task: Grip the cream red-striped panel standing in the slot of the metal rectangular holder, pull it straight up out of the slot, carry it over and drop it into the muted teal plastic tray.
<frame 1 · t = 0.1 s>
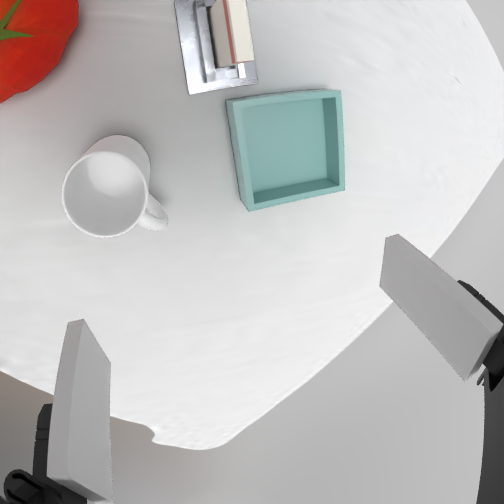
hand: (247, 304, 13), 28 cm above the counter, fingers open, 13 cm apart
cream red-striped panel: (216, 40, 29), point 1 cm above the counter, touching metal rectangular holder
tray: (283, 142, 38), on the counter
tomato: (26, 41, 23), on the counter
mug: (128, 176, 35), on the counter
metal rectangular holder: (215, 40, 30), on the counter
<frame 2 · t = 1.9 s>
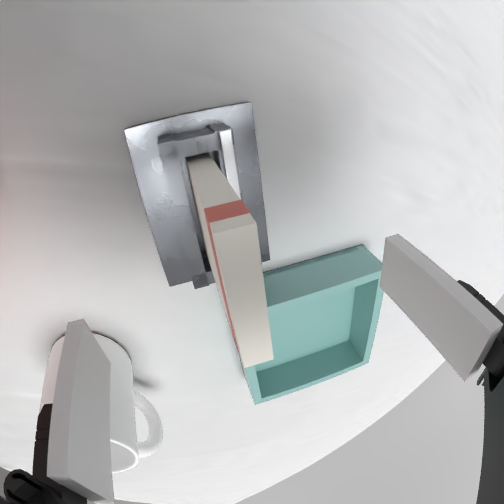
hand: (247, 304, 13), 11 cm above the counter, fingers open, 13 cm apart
cream red-striped panel: (204, 201, 21), point 1 cm above the counter, touching metal rectangular holder
tray: (299, 317, 30), on the counter
mug: (107, 365, 27), on the counter
metal rectangular holder: (203, 198, 21), on the counter
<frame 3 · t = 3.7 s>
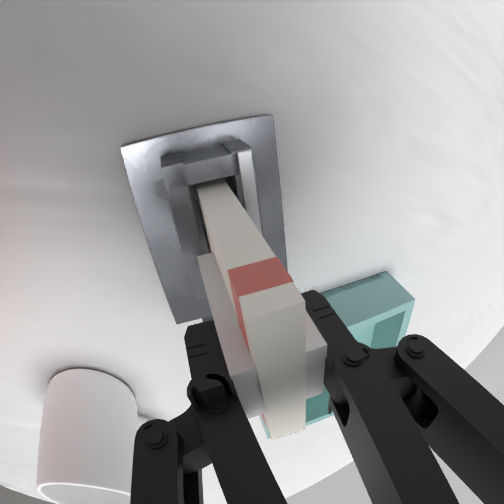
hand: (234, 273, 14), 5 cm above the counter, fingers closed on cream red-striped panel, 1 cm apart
cream red-striped panel: (217, 231, 18), point 1 cm above the counter, touching metal rectangular holder, gripper
tray: (316, 348, 27), on the counter
mug: (109, 400, 24), on the counter
metal rectangular holder: (215, 227, 19), on the counter
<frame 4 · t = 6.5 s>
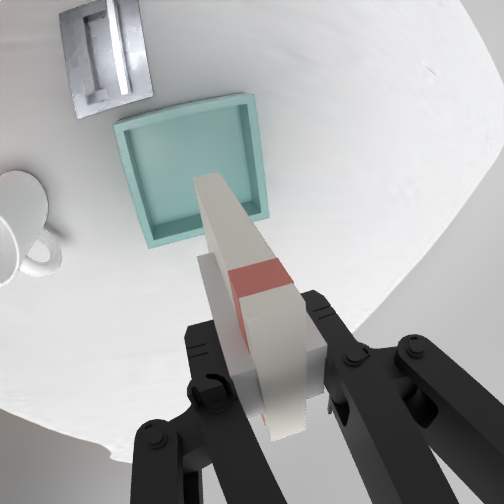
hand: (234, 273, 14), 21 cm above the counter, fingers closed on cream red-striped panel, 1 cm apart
cream red-striped panel: (217, 232, 18), point 17 cm above the counter, touching gripper
tray: (192, 163, 32), on the counter
mug: (31, 212, 29), on the counter
metal rectangular holder: (104, 52, 23), on the counter
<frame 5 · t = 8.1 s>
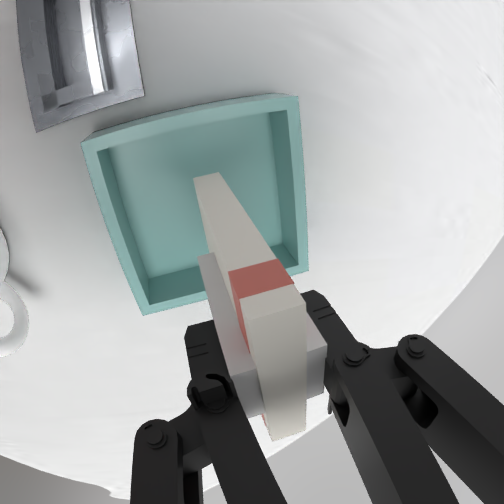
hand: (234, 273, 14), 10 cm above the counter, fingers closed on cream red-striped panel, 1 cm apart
cream red-striped panel: (217, 232, 18), point 6 cm above the counter, touching gripper
tray: (201, 193, 23), on the counter
metal rectangular holder: (74, 33, 14), on the counter
when the fingers open (6 cm above the counter, at t = 9.3 s): cream red-striped panel drops 2 cm, resting on tray.
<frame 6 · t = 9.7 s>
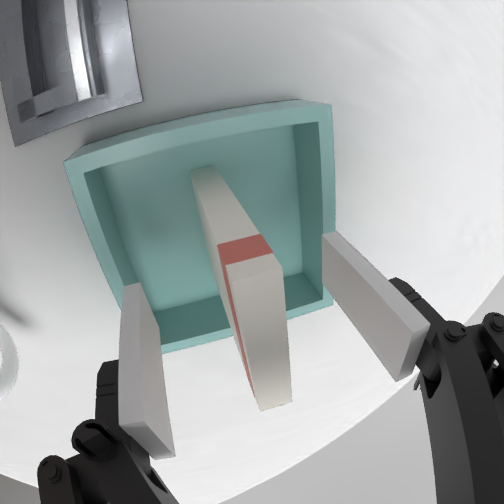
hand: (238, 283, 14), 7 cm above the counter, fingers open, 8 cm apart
cream red-striped panel: (212, 221, 19), point 1 cm above the counter, touching tray
tray: (211, 217, 20), on the counter
metal rectangular holder: (59, 27, 11), on the counter
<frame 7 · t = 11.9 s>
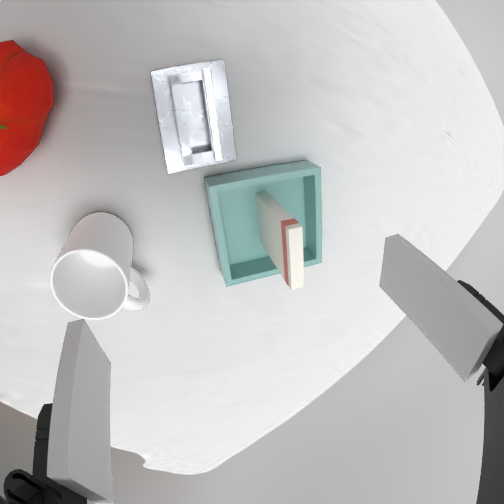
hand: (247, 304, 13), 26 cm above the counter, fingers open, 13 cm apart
cream red-striped panel: (263, 218, 40), point 1 cm above the counter, touching tray
tray: (262, 216, 41), on the counter
tomato: (8, 111, 25), on the counter
mug: (113, 249, 37), on the counter
metal rectangular holder: (194, 115, 33), on the counter
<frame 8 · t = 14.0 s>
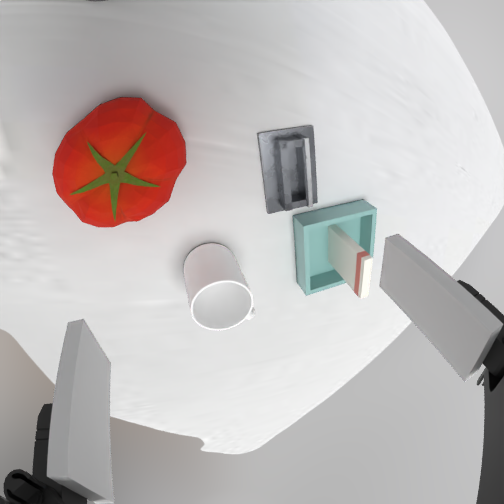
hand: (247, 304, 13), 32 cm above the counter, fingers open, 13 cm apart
cream red-striped panel: (331, 243, 53), point 1 cm above the counter, touching tray
tray: (330, 241, 53), on the counter
tomato: (123, 156, 37), on the counter
mug: (217, 270, 50), on the counter
metal rectangular holder: (289, 169, 44), on the counter
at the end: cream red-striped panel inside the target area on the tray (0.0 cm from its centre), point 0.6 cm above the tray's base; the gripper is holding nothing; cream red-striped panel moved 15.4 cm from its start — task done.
